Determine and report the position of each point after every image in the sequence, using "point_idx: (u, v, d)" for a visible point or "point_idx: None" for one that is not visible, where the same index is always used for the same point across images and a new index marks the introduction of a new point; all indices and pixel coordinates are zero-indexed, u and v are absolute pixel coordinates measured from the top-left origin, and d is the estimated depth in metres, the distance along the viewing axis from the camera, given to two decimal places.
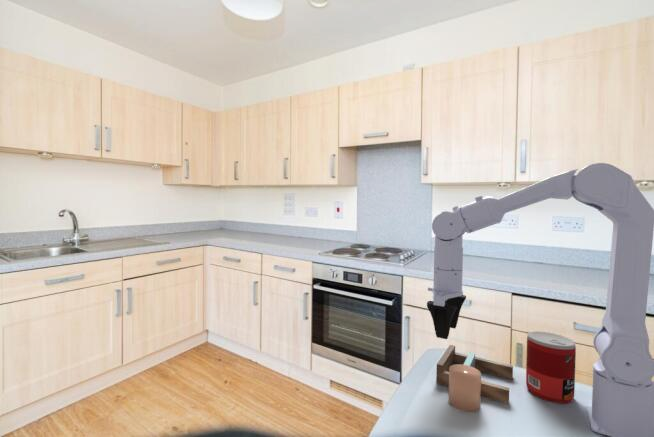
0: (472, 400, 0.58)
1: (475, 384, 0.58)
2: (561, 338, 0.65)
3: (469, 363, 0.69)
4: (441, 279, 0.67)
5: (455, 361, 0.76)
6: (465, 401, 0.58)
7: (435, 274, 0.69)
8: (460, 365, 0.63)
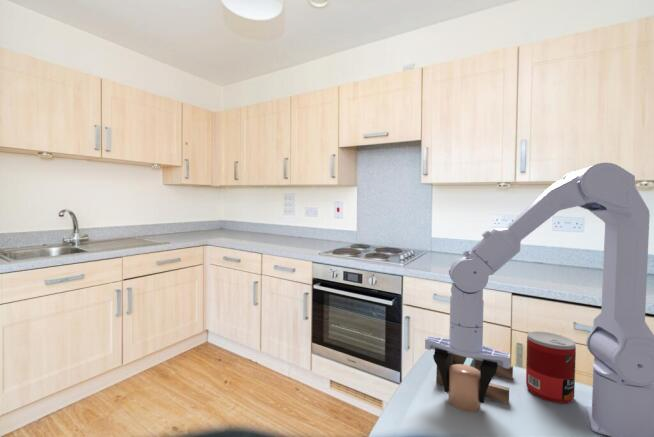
0: (472, 399, 0.58)
1: (475, 384, 0.58)
2: (561, 338, 0.65)
3: (469, 363, 0.69)
4: None
5: (455, 361, 0.76)
6: (465, 401, 0.58)
7: None
8: (460, 365, 0.63)
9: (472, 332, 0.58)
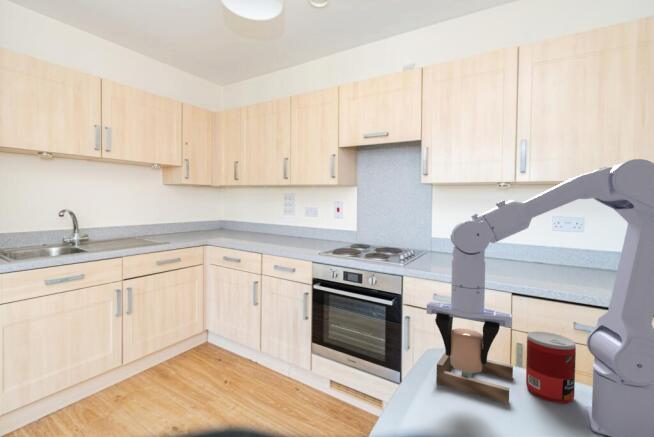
0: (475, 361, 0.58)
1: (477, 345, 0.58)
2: (561, 338, 0.65)
3: None
4: None
5: None
6: (467, 362, 0.58)
7: None
8: (461, 329, 0.63)
9: (474, 293, 0.58)
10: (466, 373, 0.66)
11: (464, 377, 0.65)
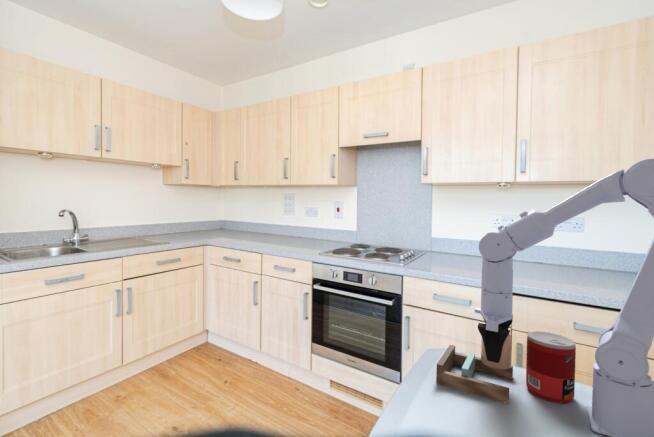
0: None
1: None
2: (561, 338, 0.65)
3: (469, 363, 0.69)
4: (491, 302, 0.65)
5: (455, 361, 0.76)
6: None
7: (484, 296, 0.67)
8: None
9: None
10: (466, 373, 0.66)
11: (464, 377, 0.65)
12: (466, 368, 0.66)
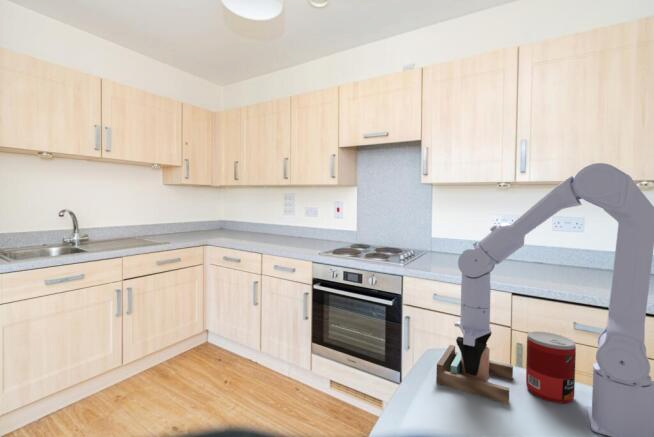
0: None
1: None
2: (561, 338, 0.65)
3: (458, 360, 0.70)
4: (469, 316, 0.67)
5: None
6: None
7: (462, 311, 0.69)
8: None
9: None
10: (455, 370, 0.67)
11: (464, 377, 0.65)
12: (455, 365, 0.67)
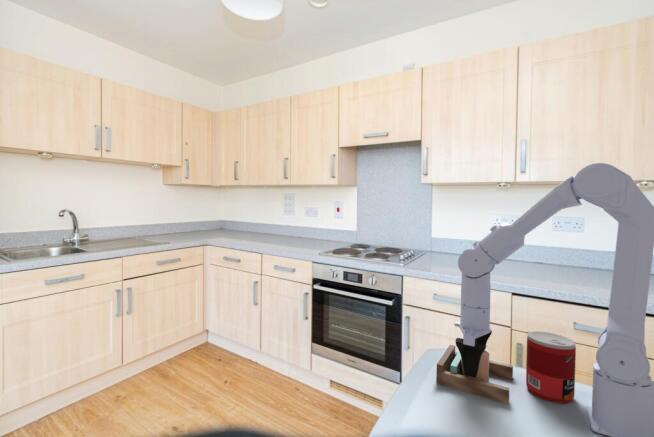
0: None
1: None
2: (561, 338, 0.65)
3: (458, 360, 0.70)
4: (469, 316, 0.67)
5: None
6: (488, 374, 0.68)
7: (462, 311, 0.69)
8: None
9: None
10: (455, 370, 0.67)
11: (464, 377, 0.65)
12: (455, 365, 0.67)
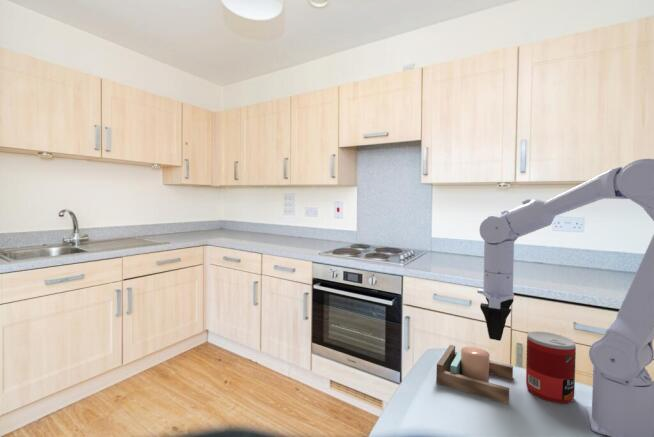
0: None
1: None
2: (561, 338, 0.65)
3: (458, 360, 0.70)
4: (493, 282, 0.69)
5: None
6: (488, 374, 0.68)
7: (486, 277, 0.70)
8: (464, 351, 0.70)
9: None
10: (455, 370, 0.67)
11: (464, 377, 0.65)
12: (455, 365, 0.67)
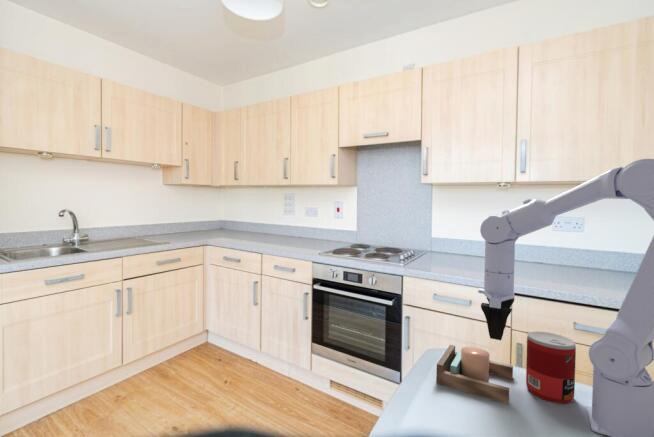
0: None
1: None
2: (561, 338, 0.65)
3: (458, 360, 0.70)
4: (494, 282, 0.69)
5: None
6: (488, 374, 0.68)
7: (487, 277, 0.70)
8: (464, 351, 0.70)
9: None
10: (455, 370, 0.67)
11: (464, 377, 0.65)
12: (455, 365, 0.67)
